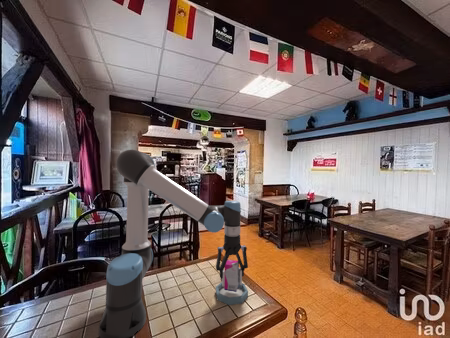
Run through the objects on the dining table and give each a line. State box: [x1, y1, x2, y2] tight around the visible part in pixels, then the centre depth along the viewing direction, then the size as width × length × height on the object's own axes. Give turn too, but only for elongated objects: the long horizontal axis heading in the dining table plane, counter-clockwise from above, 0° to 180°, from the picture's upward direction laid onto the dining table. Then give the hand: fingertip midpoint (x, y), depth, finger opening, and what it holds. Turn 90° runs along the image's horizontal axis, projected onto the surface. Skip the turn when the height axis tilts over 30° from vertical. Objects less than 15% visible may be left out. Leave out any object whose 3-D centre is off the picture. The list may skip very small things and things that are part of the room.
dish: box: [215, 281, 249, 306], centre depth 90 cm, size 14×14×2 cm
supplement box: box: [224, 259, 240, 292], centre depth 90 cm, size 6×6×12 cm
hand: (231, 284), depth 90 cm, fingers closed on supplement box, 7 cm apart
